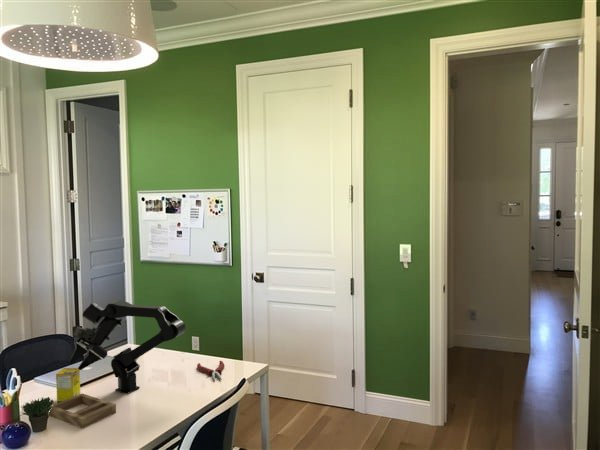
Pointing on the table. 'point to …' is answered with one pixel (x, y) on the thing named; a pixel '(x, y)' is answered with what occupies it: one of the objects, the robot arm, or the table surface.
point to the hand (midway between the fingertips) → (74, 366)
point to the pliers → (212, 372)
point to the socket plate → (82, 410)
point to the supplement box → (67, 383)
